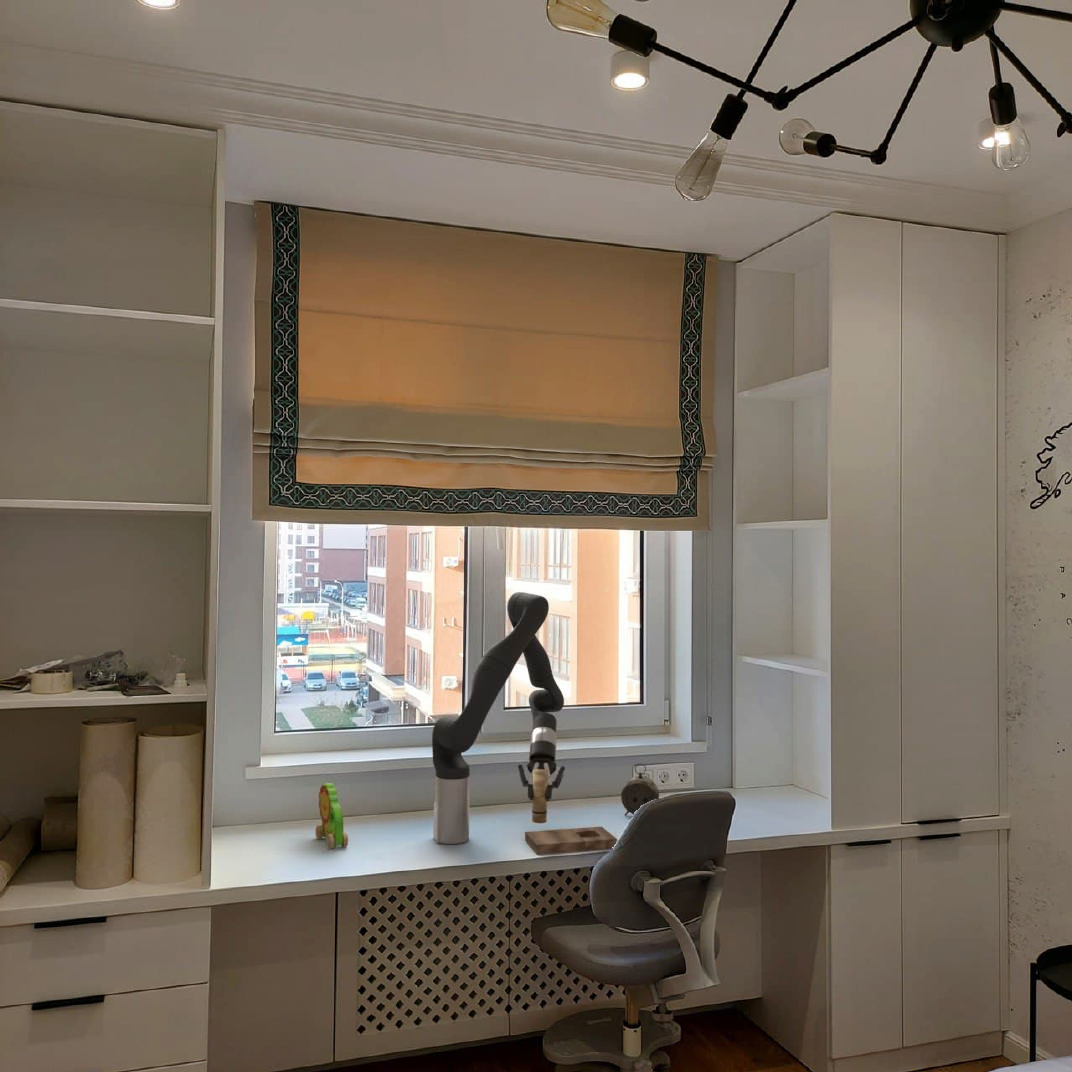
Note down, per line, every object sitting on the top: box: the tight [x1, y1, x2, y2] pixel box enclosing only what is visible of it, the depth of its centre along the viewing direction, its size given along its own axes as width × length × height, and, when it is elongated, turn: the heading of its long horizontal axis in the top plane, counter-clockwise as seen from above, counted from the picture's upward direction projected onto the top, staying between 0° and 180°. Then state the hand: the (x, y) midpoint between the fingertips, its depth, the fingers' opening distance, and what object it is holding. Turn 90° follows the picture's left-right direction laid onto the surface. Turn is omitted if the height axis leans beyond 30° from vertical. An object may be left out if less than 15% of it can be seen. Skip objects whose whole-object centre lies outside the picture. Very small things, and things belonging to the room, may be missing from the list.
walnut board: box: [524, 826, 618, 856], centre depth 252 cm, size 22×12×2 cm, turn 106°
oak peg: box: [531, 769, 548, 824], centre depth 263 cm, size 4×4×14 cm
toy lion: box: [315, 782, 349, 850], centre depth 253 cm, size 16×6×15 cm, turn 29°
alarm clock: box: [620, 762, 660, 817], centre depth 279 cm, size 11×5×16 cm, turn 76°
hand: (539, 798), depth 261 cm, fingers closed on oak peg, 4 cm apart
